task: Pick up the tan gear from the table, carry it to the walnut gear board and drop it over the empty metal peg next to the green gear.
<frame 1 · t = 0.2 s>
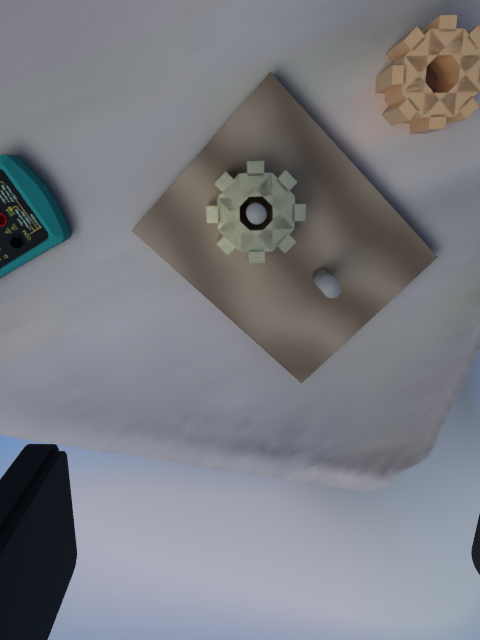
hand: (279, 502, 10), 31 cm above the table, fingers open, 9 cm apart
gear board: (285, 241, 39), on the table
tan gear: (421, 83, 35), on the table
green gear: (254, 211, 34), point 4 cm above the table, hinge at 0.0°
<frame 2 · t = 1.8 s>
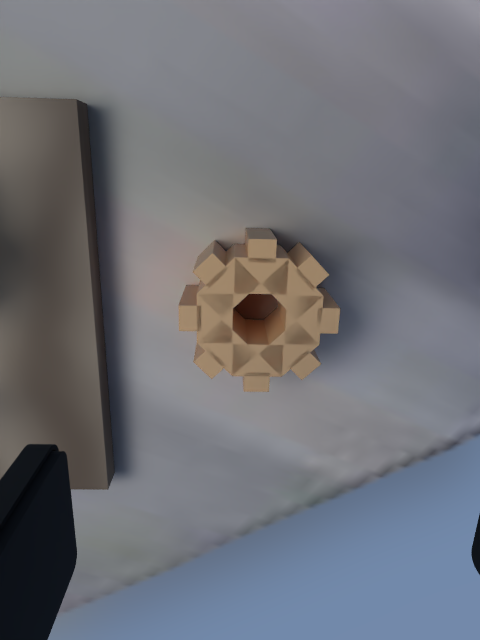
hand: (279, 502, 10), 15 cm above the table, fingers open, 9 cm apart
tan gear: (255, 297, 24), on the table
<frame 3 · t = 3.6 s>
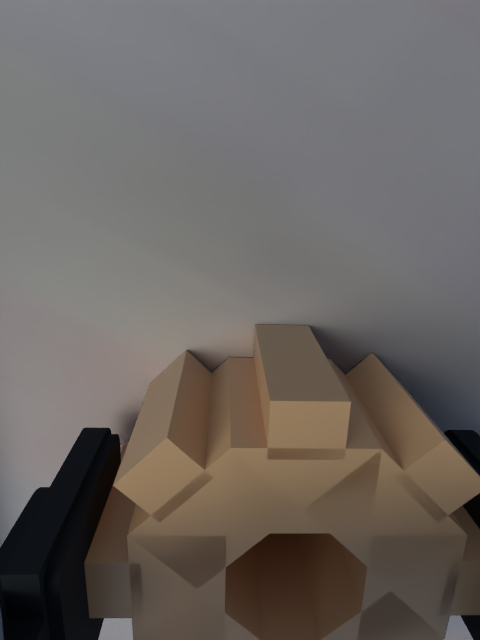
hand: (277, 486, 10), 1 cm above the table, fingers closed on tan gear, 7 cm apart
tan gear: (273, 463, 11), on the table, touching gripper
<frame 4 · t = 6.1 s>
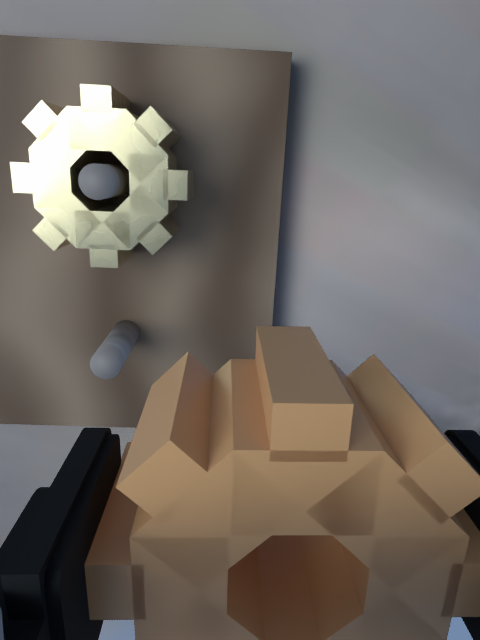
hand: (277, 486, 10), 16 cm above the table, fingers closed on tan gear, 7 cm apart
gear board: (130, 255, 25), on the table
tan gear: (275, 464, 11), point 16 cm above the table, touching gripper
green gear: (110, 180, 20), point 4 cm above the table, hinge at 0.0°
when the fingers open (4 cm above the table, at t = 9.0 s): tan gear drops 1 cm, resting on gear board.
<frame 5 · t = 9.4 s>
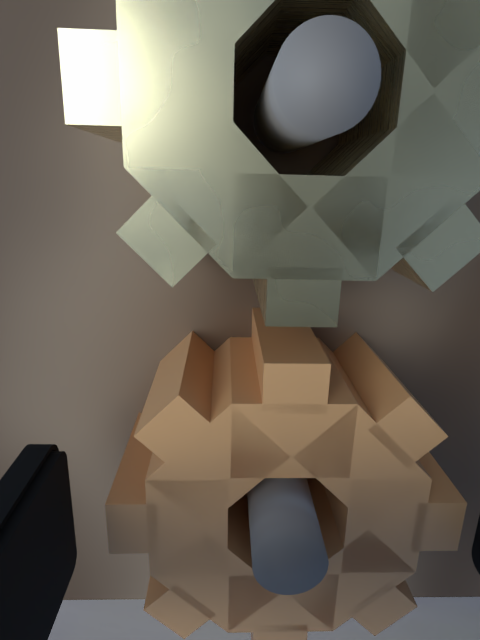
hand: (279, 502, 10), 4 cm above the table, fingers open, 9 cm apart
gear board: (269, 280, 13), on the table
tan gear: (270, 432, 13), point 1 cm above the table, touching gear board
green gear: (298, 105, 8), point 4 cm above the table, hinge at 0.0°
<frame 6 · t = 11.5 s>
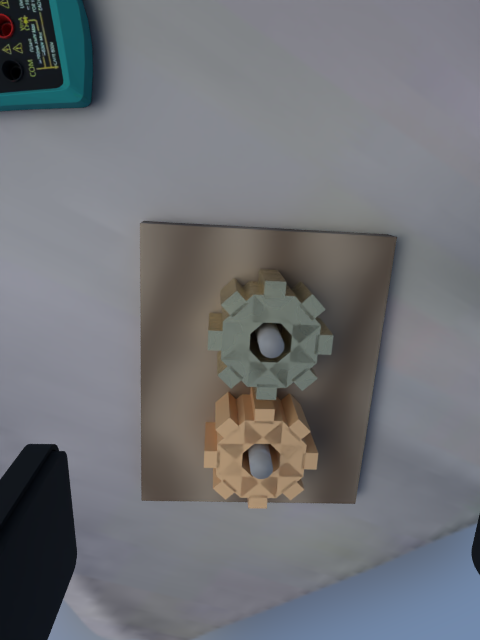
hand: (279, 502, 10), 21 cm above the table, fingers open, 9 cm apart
gear board: (257, 370, 32), on the table
tan gear: (256, 430, 32), point 1 cm above the table, touching gear board
green gear: (267, 332, 28), point 4 cm above the table, hinge at 0.0°
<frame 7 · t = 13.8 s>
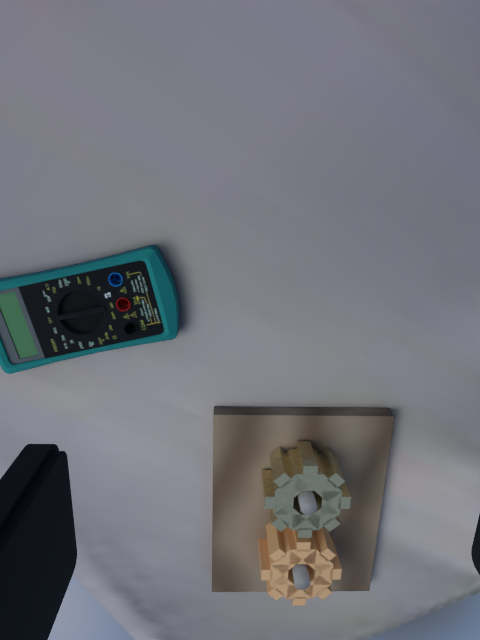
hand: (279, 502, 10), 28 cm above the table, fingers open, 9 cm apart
gear board: (295, 498, 44), on the table
tan gear: (295, 543, 44), point 1 cm above the table, touching gear board
digital multimeter: (85, 304, 38), on the table
green gear: (304, 488, 39), point 4 cm above the table, hinge at 0.0°
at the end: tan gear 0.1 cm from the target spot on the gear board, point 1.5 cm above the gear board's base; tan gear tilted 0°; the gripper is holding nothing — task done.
